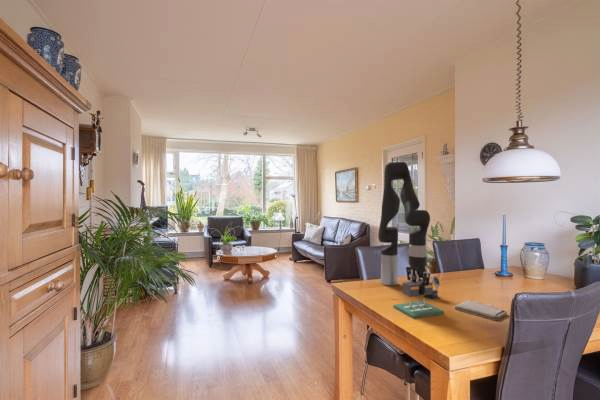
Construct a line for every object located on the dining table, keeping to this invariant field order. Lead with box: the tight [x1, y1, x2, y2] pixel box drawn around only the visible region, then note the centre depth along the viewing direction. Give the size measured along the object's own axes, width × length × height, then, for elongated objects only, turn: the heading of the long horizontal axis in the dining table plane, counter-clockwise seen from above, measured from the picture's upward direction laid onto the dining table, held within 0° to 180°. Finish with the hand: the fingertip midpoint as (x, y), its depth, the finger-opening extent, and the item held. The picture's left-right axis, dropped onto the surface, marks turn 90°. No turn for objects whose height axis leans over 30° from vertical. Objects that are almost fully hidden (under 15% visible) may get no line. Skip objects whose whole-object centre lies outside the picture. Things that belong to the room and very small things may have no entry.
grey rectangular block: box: [402, 280, 434, 298], centre depth 143 cm, size 12×5×5 cm, turn 108°
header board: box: [392, 298, 445, 319], centre depth 143 cm, size 14×16×5 cm
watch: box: [423, 274, 441, 300], centre depth 162 cm, size 6×8×11 cm
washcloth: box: [454, 299, 508, 321], centre depth 141 cm, size 12×18×3 cm, turn 38°
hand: (417, 292), depth 143 cm, fingers closed on grey rectangular block, 5 cm apart
